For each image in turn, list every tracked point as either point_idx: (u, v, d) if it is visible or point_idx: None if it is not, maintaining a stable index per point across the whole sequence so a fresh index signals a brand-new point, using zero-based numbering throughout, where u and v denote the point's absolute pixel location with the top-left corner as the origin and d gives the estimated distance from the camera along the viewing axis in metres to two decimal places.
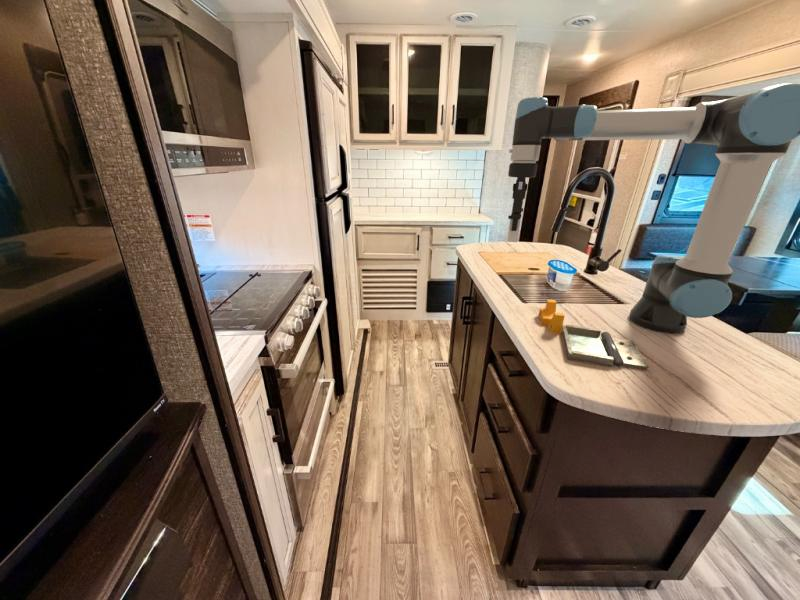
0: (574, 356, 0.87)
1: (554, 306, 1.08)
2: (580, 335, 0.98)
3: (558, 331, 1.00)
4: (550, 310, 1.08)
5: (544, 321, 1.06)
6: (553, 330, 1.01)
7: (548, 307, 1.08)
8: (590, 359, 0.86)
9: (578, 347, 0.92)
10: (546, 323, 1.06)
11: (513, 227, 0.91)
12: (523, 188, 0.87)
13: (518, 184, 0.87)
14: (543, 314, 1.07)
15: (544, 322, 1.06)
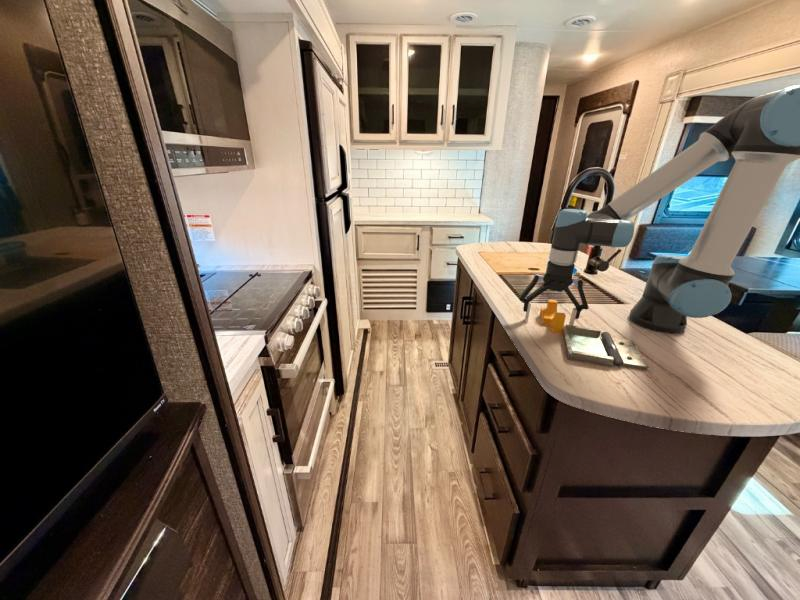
0: (574, 356, 0.87)
1: (555, 306, 1.08)
2: (580, 335, 0.98)
3: (559, 331, 1.01)
4: (551, 310, 1.08)
5: (545, 321, 1.06)
6: (554, 330, 1.01)
7: (549, 307, 1.08)
8: (590, 359, 0.86)
9: (578, 347, 0.92)
10: (547, 323, 1.06)
11: None
12: (533, 280, 1.02)
13: (534, 275, 1.03)
14: (544, 314, 1.07)
15: (545, 322, 1.06)
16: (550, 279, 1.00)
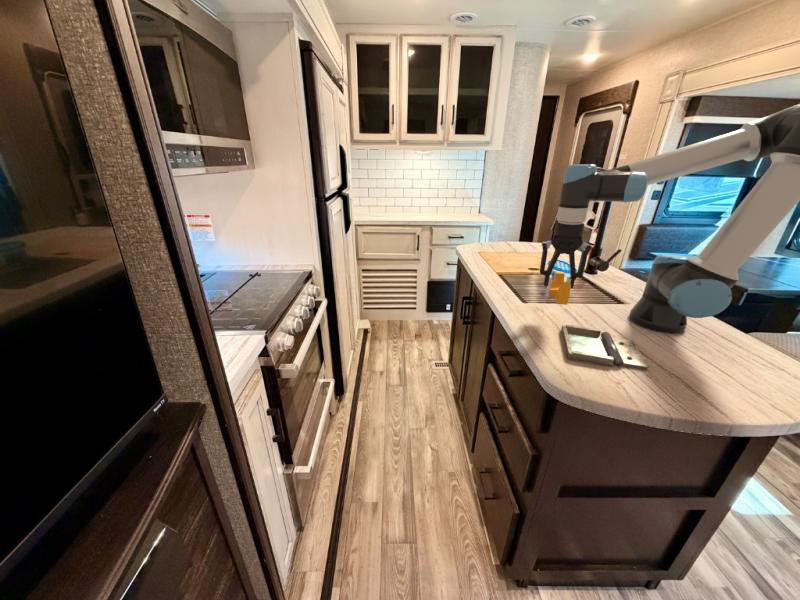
0: (574, 356, 0.87)
1: (562, 278, 1.03)
2: (580, 335, 0.98)
3: (565, 301, 0.96)
4: (558, 282, 1.03)
5: (551, 293, 1.02)
6: (559, 300, 0.97)
7: (556, 279, 1.04)
8: (590, 359, 0.86)
9: (578, 347, 0.92)
10: (553, 295, 1.02)
11: (544, 281, 1.02)
12: None
13: None
14: None
15: (551, 294, 1.02)
16: (558, 240, 0.95)
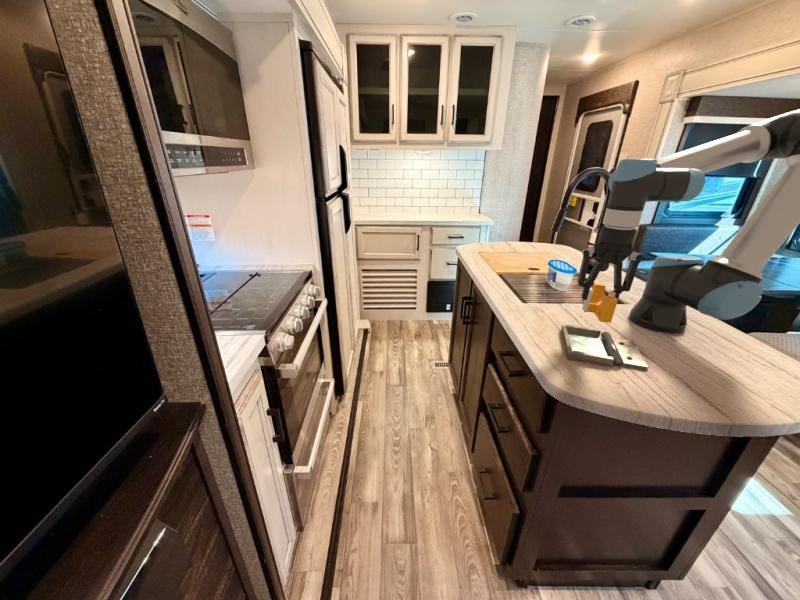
0: (574, 356, 0.87)
1: (603, 290, 0.90)
2: (580, 335, 0.98)
3: (608, 319, 0.83)
4: (597, 295, 0.90)
5: (590, 307, 0.88)
6: (602, 318, 0.83)
7: (595, 291, 0.90)
8: (590, 359, 0.86)
9: (578, 347, 0.92)
10: (592, 310, 0.88)
11: (582, 294, 0.88)
12: (584, 257, 0.84)
13: (582, 252, 0.85)
14: None
15: (590, 309, 0.88)
16: (604, 247, 0.81)
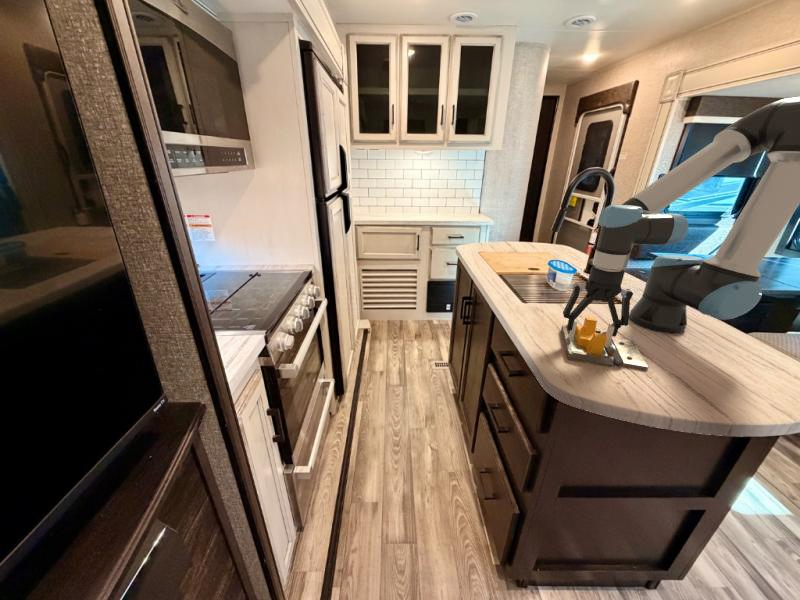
0: (574, 356, 0.87)
1: (594, 325, 0.94)
2: None
3: None
4: (589, 330, 0.94)
5: (581, 342, 0.93)
6: (592, 353, 0.87)
7: (587, 326, 0.94)
8: (590, 359, 0.86)
9: (578, 347, 0.92)
10: (584, 344, 0.93)
11: (567, 325, 0.93)
12: (574, 291, 0.88)
13: (573, 286, 0.89)
14: (580, 333, 0.94)
15: (581, 343, 0.93)
16: (594, 287, 0.85)
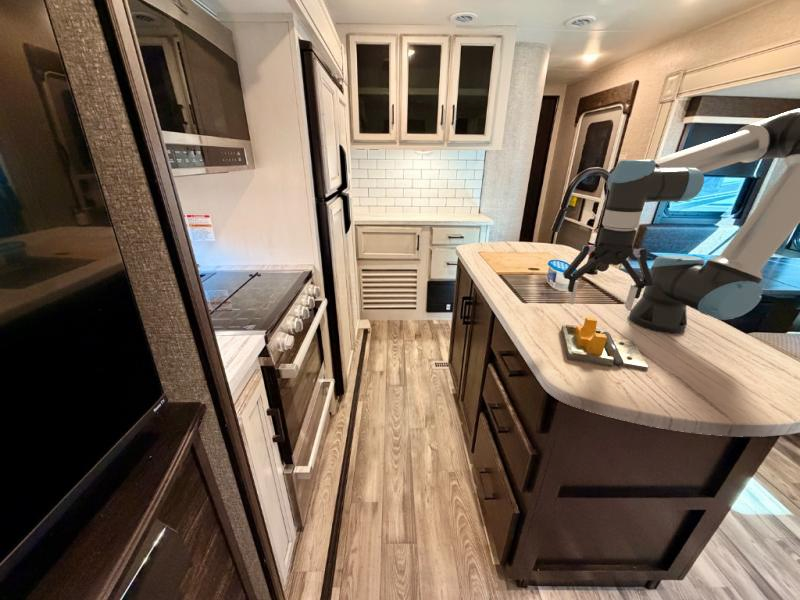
0: (574, 356, 0.87)
1: (594, 325, 0.94)
2: None
3: None
4: (589, 330, 0.94)
5: (582, 342, 0.92)
6: (592, 353, 0.87)
7: (587, 326, 0.94)
8: (590, 359, 0.86)
9: (578, 347, 0.92)
10: (584, 344, 0.93)
11: (568, 287, 0.89)
12: (582, 252, 0.83)
13: (582, 247, 0.84)
14: (581, 333, 0.94)
15: (582, 343, 0.93)
16: (604, 250, 0.81)
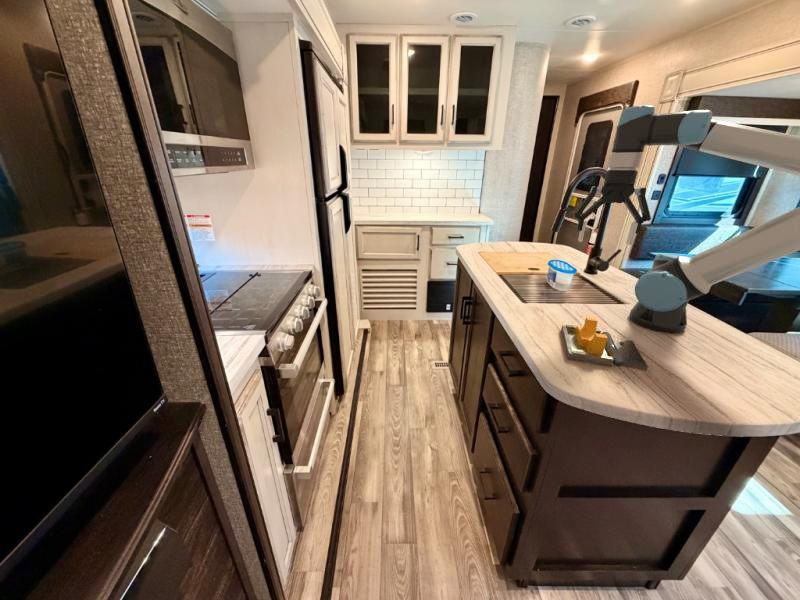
0: (574, 356, 0.87)
1: (594, 325, 0.94)
2: None
3: None
4: (589, 330, 0.94)
5: (582, 342, 0.92)
6: None
7: (587, 326, 0.94)
8: (590, 359, 0.86)
9: (578, 347, 0.92)
10: (584, 344, 0.92)
11: (577, 226, 1.01)
12: (591, 192, 0.96)
13: (591, 188, 0.96)
14: (581, 334, 0.94)
15: (582, 343, 0.93)
16: (610, 190, 0.94)
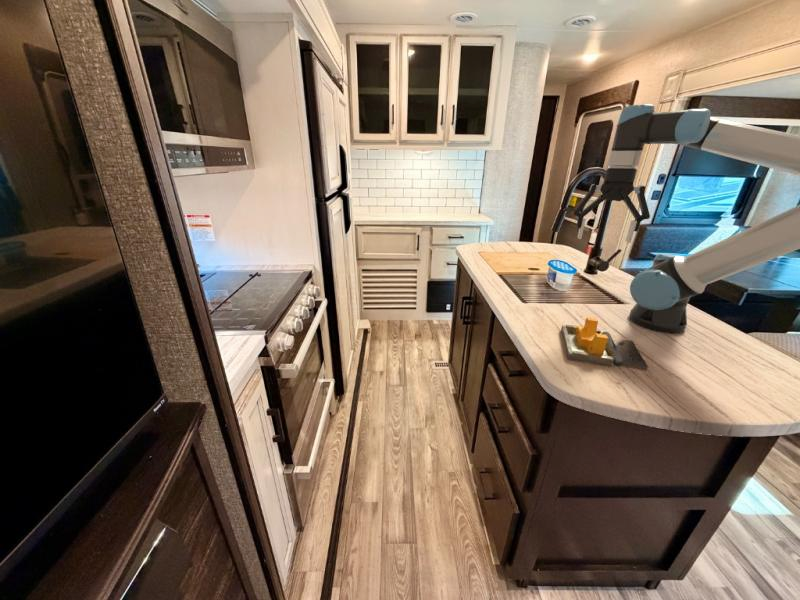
0: (574, 356, 0.87)
1: (595, 325, 0.94)
2: None
3: None
4: (590, 330, 0.94)
5: (582, 342, 0.92)
6: None
7: (588, 326, 0.94)
8: (590, 359, 0.86)
9: (578, 347, 0.92)
10: (585, 344, 0.92)
11: (577, 224, 1.02)
12: (590, 190, 0.97)
13: (590, 186, 0.98)
14: (581, 334, 0.94)
15: (582, 343, 0.92)
16: (609, 187, 0.95)
